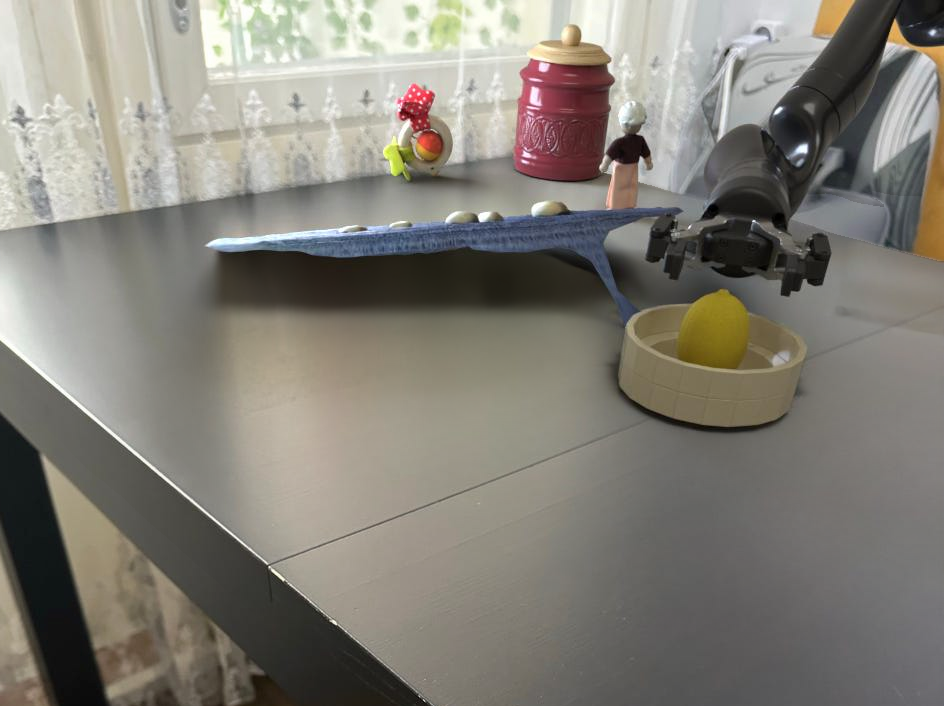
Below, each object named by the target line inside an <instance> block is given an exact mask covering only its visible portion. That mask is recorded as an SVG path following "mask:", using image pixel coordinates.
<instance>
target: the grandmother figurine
mask: <svg viewBox="0 0 944 706" xmlns="http://www.w3.org/2000/svg"><path fill="white" fill-rule="evenodd" d="M618 118H619V119H618V121H619V126H620V130H621V131H622V132H623V134H624V135H623V136H621V137H618V138H615V139H614V140H613V141H612V142H611V144H610V145H609V147H608V148H607V150H606V151H605V152H604V153H605V157H604V159H603V163H602V164H601V165H600V171H601V173H607V172H608V170H609V167H610V165H611V164H612V162H614V163H613V171H612V174H611V180H610V184H609V187H608V192H607V196H606V203H605V206H606V207H607V208H606V209H605V210H611V209H615V210H616V209H617V210H620V209H621V210H622V209H632V208H633V209H634V208H637V203H638V201H637V200H638V194H639V163H640V159H641V158H642V162H643V163H644V169H645V170H646V171H651V170H653V168H654V163H653V162H652V161H653V158H652V152H651V149H650V147H649V145H648V143H647V141H646V139H645V137H644V135H641V134H638V133H639V132H640V131H641V129H642V127H643V125H644V124H646V120H647V119H648V115H647V112H646V108H645V107H644V104H643V103H642V102H640V101H636V100H631V101H628V102H626V103H625V104H623V105H622V106H621V108H620V109H619V112H618Z"/></svg>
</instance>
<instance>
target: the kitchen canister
mask: <svg viewBox="0 0 944 706" xmlns="http://www.w3.org/2000/svg"><path fill="white" fill-rule="evenodd" d="M582 36H583V35H582V30H581V28H580V26H578V25H577V24H574V23H573V24H572V23H571V24H567V25H565V26H564V28H563V30H562V32H561V39H559V40H557V39H553V40H552V39H550V40H542V41H538V43H537V45H535V46H534V47H532V48H530V49H529V50H527V52H526V55H527V57H528V58H530V59H529V61H528V63H527V65H526V66H525V67H523V68H521V69H520V71H519V74H518V75H519V77H520V79H521V81H522V86H521V91H520V96H519V97H518V98H517V100H516V103H517V113H516V114H517V115H516V128H515V140H514V141H515V142H514V146H513V148H512V149H513V153H512V159H513V167H514V169H515V170H516V171H518V172H520V173H522V174H524V175H526V176H531V177H535V178H539V179H544V180H551V181H571V182H573V181H584V180H585V181H586V180H591V179H595V178H597V177H599V176H600V175H601V173H602V172H601V171H600V165H601V164H602V163H603V159H604V157H605V153H606V151H605V149H606V144H607V143H606V141H607V136H608V135H607V134H608V127H609V119H610V112H611V111H612V105H611V103H610V91H611V88H612V86H613V85H614V84H615V82H616V78H615V77H614V75H613V74H611V72H610V71H609V67H608V64H610V63H611V62H612V57H611V56H610V55H609V54H608V53H607V52H606V51H605V50H604V48H603V47H602V46H601V45H598V44H595V43H591V42H585V41H582Z"/></svg>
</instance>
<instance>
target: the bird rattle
mask: <svg viewBox="0 0 944 706" xmlns="http://www.w3.org/2000/svg"><path fill="white" fill-rule="evenodd" d="M435 98H436V93H434V91H432V90H429V89H422V88H421V87H420V86H419V85H417V84H416V83H414V82H413V83H412V84H410V86H409V87H408V89H407V91H406V93H405V95H404V96H401V97H398V98H397V100H396V106H397V108H398V111H397V119H398V120H400V121H402V122H405V121H406V122H405V123H404V125H403V126H402V128H401V130H400V133H399V136H398V142H397V136H396V135H394V136H393V138H392V142H391V144H388V145H386V147H384V149H383V156H384V158H385V159H386V160H388V161H389V164H390V172H391V175H392V176H393V177H399V176H400V175H401V174H402V173H403V175H404V177H405V178H406V180H407V181H410V180H411V175H410V173H409V171H408V168H407V167H406V165H407V166H408V167H409V168H410V169H412V170H414V171H416V172H418V173H422V174H429V175H430V176H432V177H437V176H438V175H439V171H440V170H441V169H442V168H443V167H445V165H446V164H447V162H448V160H449V159H450V157H451V155H452V153H453V148H454V147H453V146H454V142H453V134H452V131H451V130H450V129H451V128H449V126H448V124H447V123H446V122H445V121H444V120H443V119H442V118H440V117H439V116H437V115H434V114H433V113H432V114H431V113H430V111H431V108H432V106H433V103H434V101H435ZM419 132H420V133H419ZM417 133H419V134H418V136H417V137H416V136H414V135H415V134H417ZM412 139H415V145H414V147H415V151H416V152H415V151H414V148H413V143H412ZM415 153H417V155H418V156H419V157H418V156H416V154H415Z"/></svg>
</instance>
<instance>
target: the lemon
mask: <svg viewBox="0 0 944 706" xmlns="http://www.w3.org/2000/svg"><path fill="white" fill-rule="evenodd" d="M692 304H693V305H692V306H691V307H690V309H689V310H688V312H687V314H686V316H685V318H684V320H683V322H682V325H681V327H680V330H679V334H678V339H677V354H678V359H679V360H681V361H684V362H687V363H691V364H696V365H701V366H706V367H711V368H720V369H733V370H736V369H737V368H738V366H739V365H740V363H741V362H742V360H743V358H744V356H745V353H746V350H747V347H748V342H749V332H750V327H749V316H748V313H747V312H748V310H747V309H746V306H745V305H744V304H743V302H741V300H740V299H739V298H737V297H736V296H734V295H733V294H731V293H730V291H729V290H728V289H727V288H726V289H725V288H720V289H718V291H715V292H711V293H708V294H705V295H703V296H702V297H700V298H699V299H697V300H696V301H695V302H693V303H692Z"/></svg>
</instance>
